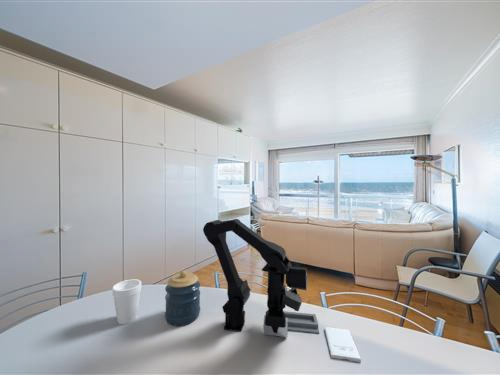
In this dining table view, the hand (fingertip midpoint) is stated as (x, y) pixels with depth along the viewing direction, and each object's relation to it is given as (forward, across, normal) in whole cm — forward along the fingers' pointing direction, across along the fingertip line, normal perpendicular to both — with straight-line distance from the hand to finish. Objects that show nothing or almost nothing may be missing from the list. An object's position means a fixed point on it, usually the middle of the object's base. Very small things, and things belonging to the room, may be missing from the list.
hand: (275, 330), depth 71 cm
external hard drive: (+2, -1, -21) cm, 21 cm away
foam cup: (+2, 0, +56) cm, 56 cm away
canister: (+2, +5, +36) cm, 36 cm away
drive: (+1, 0, 0) cm, 1 cm away
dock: (+2, +8, -8) cm, 11 cm away
